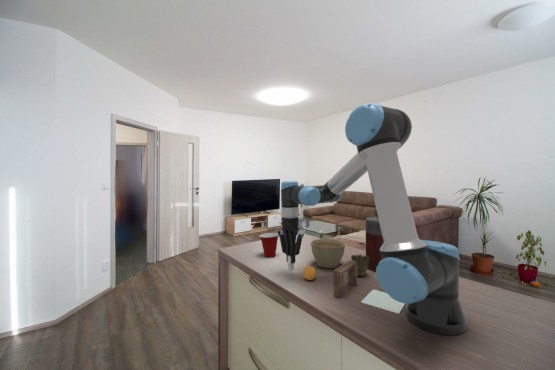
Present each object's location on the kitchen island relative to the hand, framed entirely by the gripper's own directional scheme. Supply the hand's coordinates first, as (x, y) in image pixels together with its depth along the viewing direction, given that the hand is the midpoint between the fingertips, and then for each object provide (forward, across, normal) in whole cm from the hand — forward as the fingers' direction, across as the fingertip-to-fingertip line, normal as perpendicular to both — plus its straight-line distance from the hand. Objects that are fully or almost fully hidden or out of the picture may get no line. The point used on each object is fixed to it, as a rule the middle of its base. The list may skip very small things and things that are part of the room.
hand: (291, 269), depth 112 cm
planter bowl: (+2, -8, -20) cm, 21 cm away
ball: (-1, -10, 0) cm, 10 cm away
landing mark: (+2, -40, 0) cm, 40 cm away
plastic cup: (+2, +24, -14) cm, 28 cm away
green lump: (+2, -24, -17) cm, 30 cm away
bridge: (+2, -26, 0) cm, 26 cm away
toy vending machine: (+2, -30, -30) cm, 42 cm away
